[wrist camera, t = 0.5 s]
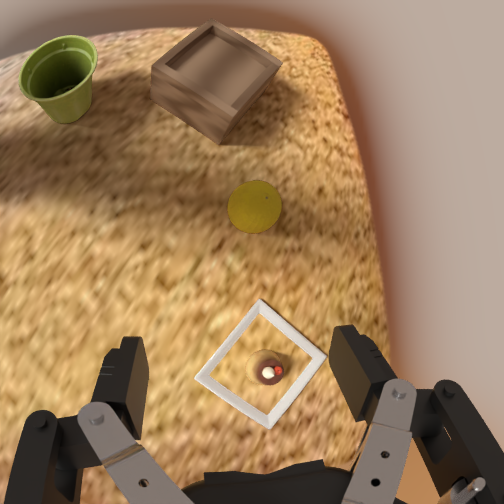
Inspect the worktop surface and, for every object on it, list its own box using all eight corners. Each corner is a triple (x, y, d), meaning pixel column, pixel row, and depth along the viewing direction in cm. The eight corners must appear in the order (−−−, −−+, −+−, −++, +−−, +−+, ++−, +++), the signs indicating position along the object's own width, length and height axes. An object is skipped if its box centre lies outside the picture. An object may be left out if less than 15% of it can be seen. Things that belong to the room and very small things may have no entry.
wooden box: (150, 100, 36) (151, 65, 29) (201, 52, 39) (211, 18, 32) (218, 145, 38) (232, 117, 31) (263, 93, 41) (283, 62, 34)
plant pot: (106, 71, 35) (101, 29, 26) (103, 130, 34) (93, 92, 26) (43, 82, 32) (27, 44, 23) (34, 141, 31) (11, 108, 23)
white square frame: (323, 354, 40) (342, 361, 35) (266, 426, 37) (280, 441, 32) (256, 297, 38) (270, 299, 34) (192, 375, 35) (197, 387, 30)
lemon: (244, 247, 38) (267, 238, 30) (211, 213, 37) (226, 194, 29) (275, 216, 39) (303, 200, 32) (243, 183, 39) (265, 159, 31)
